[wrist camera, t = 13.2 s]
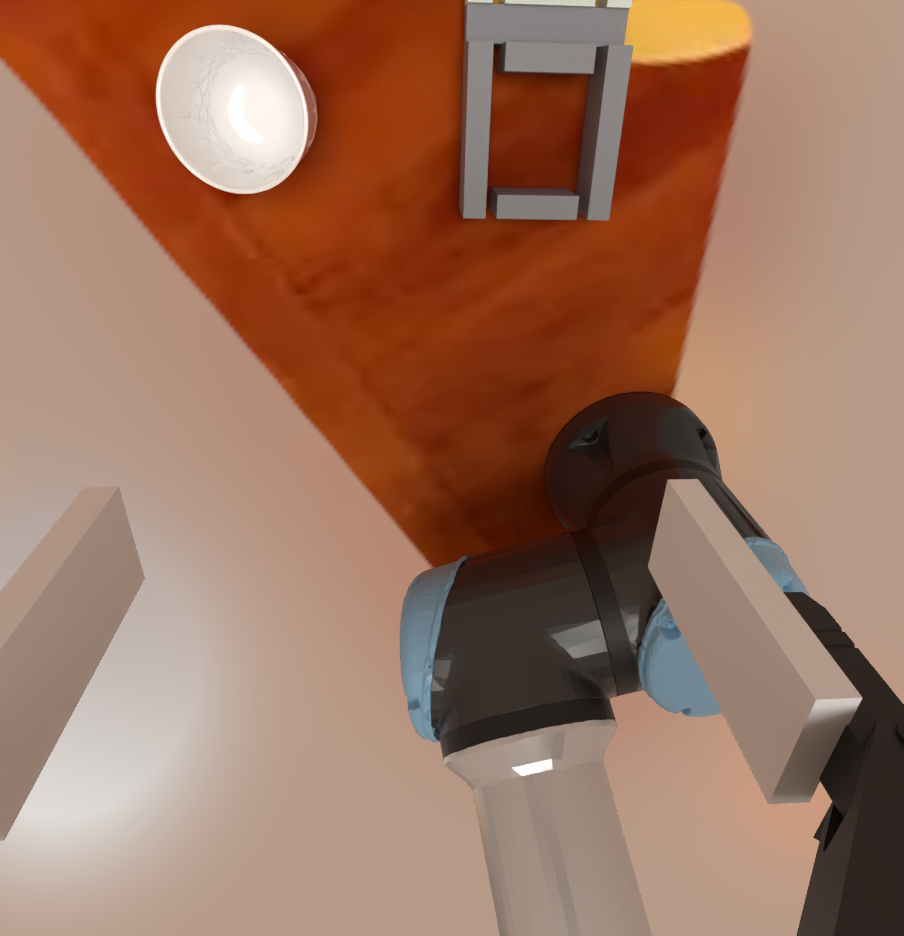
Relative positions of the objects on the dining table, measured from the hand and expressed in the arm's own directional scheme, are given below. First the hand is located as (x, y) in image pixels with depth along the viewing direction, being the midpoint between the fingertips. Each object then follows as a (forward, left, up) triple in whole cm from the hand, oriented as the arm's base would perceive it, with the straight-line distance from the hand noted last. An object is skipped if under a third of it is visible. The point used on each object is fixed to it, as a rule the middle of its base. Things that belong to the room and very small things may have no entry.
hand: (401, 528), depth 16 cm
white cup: (+8, +9, -37) cm, 39 cm away
